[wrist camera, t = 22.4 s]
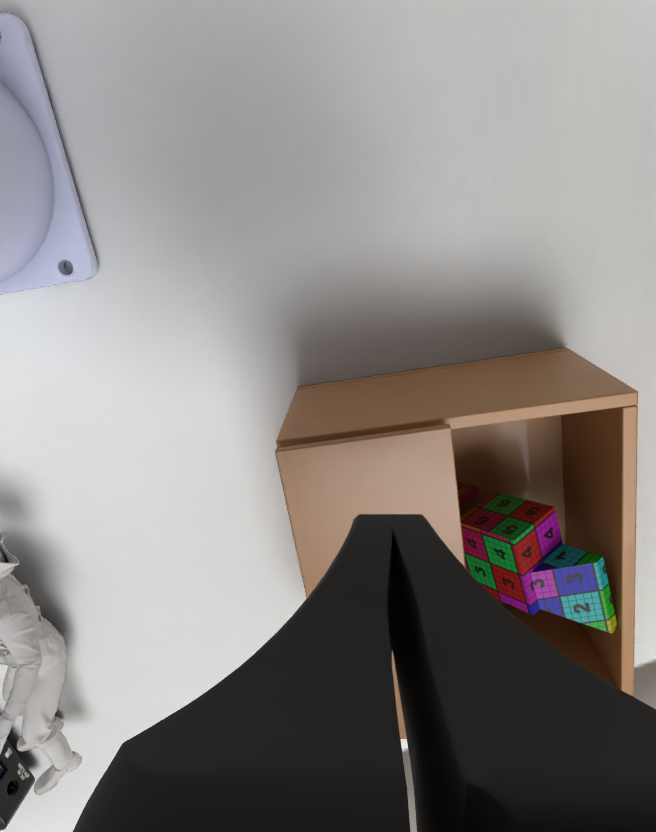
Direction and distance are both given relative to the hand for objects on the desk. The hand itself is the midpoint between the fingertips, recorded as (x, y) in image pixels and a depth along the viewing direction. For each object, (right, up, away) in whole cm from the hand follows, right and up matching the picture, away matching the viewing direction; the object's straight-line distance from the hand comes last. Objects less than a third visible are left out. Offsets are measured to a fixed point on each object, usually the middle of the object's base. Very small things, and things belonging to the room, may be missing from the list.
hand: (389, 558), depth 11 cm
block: (+6, -2, +8) cm, 10 cm away
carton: (+3, 0, +11) cm, 12 cm away
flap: (+1, -3, +6) cm, 6 cm away
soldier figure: (-14, -7, +15) cm, 22 cm away
